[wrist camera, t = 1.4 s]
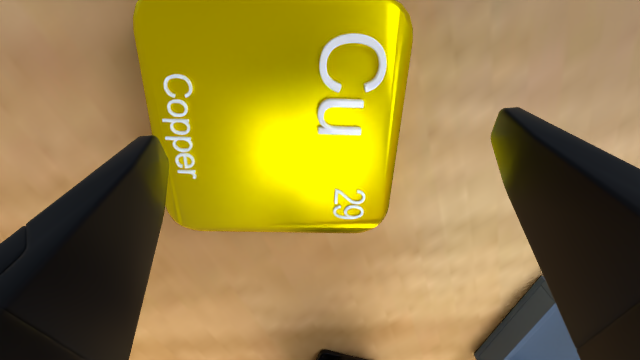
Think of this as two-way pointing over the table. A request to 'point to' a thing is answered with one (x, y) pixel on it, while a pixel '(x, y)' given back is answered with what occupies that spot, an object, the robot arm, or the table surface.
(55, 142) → the table surface
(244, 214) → the element tile
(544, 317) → the tray
